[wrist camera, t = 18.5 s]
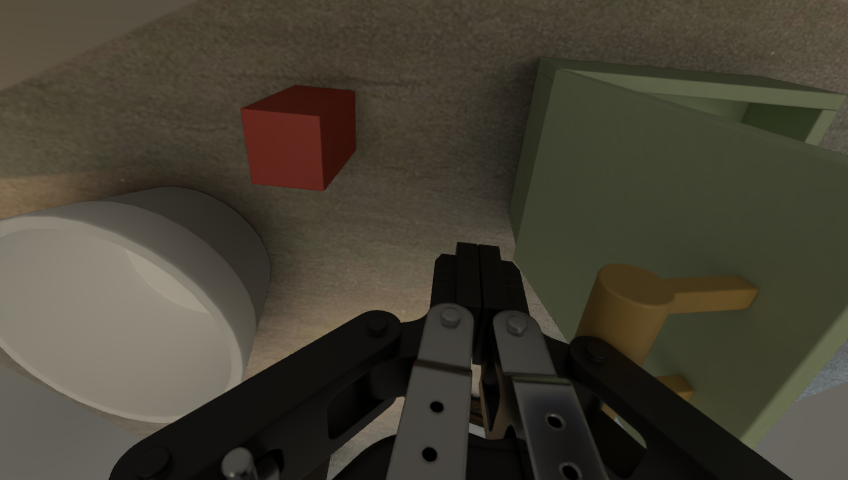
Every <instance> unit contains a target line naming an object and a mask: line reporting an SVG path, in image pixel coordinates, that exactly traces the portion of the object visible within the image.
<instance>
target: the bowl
mask: <svg viewBox="0 0 848 480" xmlns="http://www.w3.org/2000/svg"><path fill="white" fill-rule="evenodd" d="M270 277H271V269H270V261H269V258H268V254H267V251H266V249H265V247H264V245H263V243H262V241H261V239H260V237H259V236H258V235H257V233H256V232H255V230H254V229H253V228H252V226H251V225H250V224H249V223H248V222H247V221H246V220H245V219H244V218H243V217H242V216H241V215H240V214H239V213H237V212H236V211H234V210H233V209H232V208H230V207H229V206H228V205H226V204H225V203H223V202H221V201H219V200H217V199H216V198H214V197H212V196H210V195H207V194H204V193H202V192H199V191H196V190H193V189H187V188H182V187H158V188H153V189H148V190H143V191H138V192H133V193H129V194H124V195H119V196H114V197H109V198H104V199H99V200H94V201H86V202H81V203H76V204H71V205H66V206H61V207H56V208H51V209H46V210H41V211H36V212H31V213H26V214H21V215H17V216H12V217H8V218H3V219H0V347H1V348H2V349H3V350H4V351H5V352H6V353H7V354H8V355H9V356H10V357H11V358H13V359H14V360H15V361H16V362H17V363H18V364H20V365H21V366H22V367H24V368H25V369H26V370H27V371H29V372H30V373H31V374H33V375H34V376H35V377H37V378H38V379H40V380H41V381H43V382H45V383H46V384H48V385H49V386H51V387H53V388H54V389H56V390H57V391H59V392H61V393H63V394H65V395H67V396H69V397H71V398H73V399H75V400H77V401H79V402H81V403H84V404H86V405H89V406H91V407H94V408H96V409H99V410H101V411H104V412H108V413H111V414H114V415H118V416H121V417H125V418H129V419H135V420H141V421H146V422H159V423H173V422H174V421H176V420H178V419H180V418H181V417H183V416H185V415H187V414H188V413H190V412H192V411H194V410H195V409H197V408H199V407H201V406H202V405H204V404H206V403H208V402H209V401H211V400H213V399H214V398H216V397H218V396H220V395H221V394H223V393H225V392H227V391H228V390H230V389H232V388H234V387H235V386H237V385H239V384H241V383H242V382H243V380H244V376H245V372H246V369H247V365H248V361H249V358H250V354H251V351H252V347H253V343H254V338H255V334H256V331H257V327H258V323H259V320H260V316H261V313H262V309H263V305H264V302H265V298H266V295H267V291H268V287H269V282H270Z"/></svg>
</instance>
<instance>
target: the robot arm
mask: <svg viewBox="0 0 848 480" xmlns="http://www.w3.org/2000/svg"><path fill="white" fill-rule="evenodd" d="M523 289H524V287H523V283H522V278H521V274H520V270H519V269H518V268H517V267H516V265H515V264H514V263H513V262H512V261H503V260H501V256H500V249H499V246H490V245H482V244H479V245H477V244H472V243H463V242H457V246H456V253H455V255H449V254H441V255H440V256H439V257H438V258H437V259H436V261H435V267H434V276H433V284H432V293H431V302H430V309H429V311H428V312H427V314H426V315H425V316H423V317H422V318H420V319H418V320H415V321H410V322H403V323H401V322H400V320H399V319H398V318H397V317H396V316H395V315H393V314H392V313H389V312H386V311H381V310H373V311H368V312H365V313H363V314H361V315H359V316H357V317H355V318H354V319H352V320H350V321H348V322H347V323H345V324H343V325H341V326H340V327H338V328H336V329H335V330H333V331H331V332H329V333H328V334H326V335H324V336H322V337H321V338H319V339H317V340H315V341H314V342H312V343H310V344H308V345H307V346H305V347H303V348H301V349H300V350H298V351H296V352H295V353H293V354H291V355H289V356H288V357H286V358H284V359H282V360H281V361H279V362H277V363H275V364H274V365H272V366H270V367H268V368H267V369H265V370H263V371H261V372H260V373H258V374H256V375H255V376H253V377H251V378H249V379H248V380H246V381H244V382H242V383H241V384H239V385H237V386H235V387H234V388H232V389H230V390H228V391H227V392H225V393H223V394H221V395H220V396H218V397H216V398H214V399H213V400H211V401H209V402H208V403H206V404H204V405H202V406H201V407H199V408H197V409H195V410H194V411H192V412H190V413H188V414H187V415H185V416H183V417H181V418H180V419H178V420H176V421H174V422H173V423H171V424H169V425H168V426H166V427H164V428H162V429H161V430H159V431H157V432H155V433H154V434H152V435H150V436H148V437H147V438H145V439H143V440H141V441H140V442H138V443H137V444H135V445H134V446H133V447H132V448H130V449H129V450H128V451H127V452H126V453H125V454H124V455H123V456H122V457H121V458H120V459H119V460H118V462H117V463H116V465H115V466H114V468H113V470H112V472H111V474H110V477H109V480H301V479H303V478H304V477H305V476H306V475H307V474H309V473H310V472H311V471H312V470H313V469H315V468H316V467H317V466H318V465H320V464H321V463H322V462H323V461H324V460H326V459H327V458H328V457H329V456H330V455H332V454H333V453H334V452H335V451H337V450H338V449H339V448H340V447H341V446H343V445H344V444H345V443H346V442H347V441H349V440H350V439H351V438H352V437H354V436H355V435H356V434H357V433H358V432H360V431H361V430H362V429H363V428H364V427H366V426H367V425H368V424H369V423H371V422H372V421H373V420H374V419H375V418H377V417H378V416H379V415H380V414H381V413H383V412H384V411H385V410H386V409H388V408H389V407H390V406H391V405H392V404H393V403H394V401H395V400H396V397H401V396H406V397H405V401H404V405H403V409H402V413H401V418H400V422H399V426H398V430H397V434H396V435H392V436H389V437H386V438H384V439H381V440H379V441H377V442H376V443H374V444H372V445H370V446H369V447H368V448H366V449H365V450H363V451H362V452H361V453H360V454H359V455H358V456H357V457H356V458H354V459H353V460H352V461H351V462H350V463H349V464H348V465H347V466H346V467H345V468H344V469H343V470H342V471H341V472H339V473H338V474H337V475H336V476H335V477H334V478H333V479H332V480H793V479H791V478H790V477H789V476H787V475H786V474H785V473H783V472H782V471H781V470H779V469H777V468H776V467H775V466H774V465H772V464H771V463H770V462H768V461H767V460H766V459H764V458H763V457H762V456H760V455H759V454H758V453H756V452H755V451H753V450H752V449H751V448H749V447H748V446H747V445H745V444H744V443H743V442H741V441H740V440H739V439H737V438H736V437H735V436H733V435H732V434H731V433H729V432H728V431H726V430H725V429H724V428H722V427H721V426H720V425H718V424H717V423H716V422H714V421H713V420H712V419H710V418H709V417H708V416H706V415H705V414H703V413H702V412H701V411H699V410H698V409H697V408H695V407H694V406H693V405H691V404H690V403H689V402H687V401H686V400H685V399H683V398H682V397H681V396H679V395H678V394H676V393H675V392H674V391H672V390H671V389H670V388H668V387H667V386H666V385H664V384H663V383H662V382H660V381H659V380H658V379H656V378H655V377H653V376H652V375H651V374H649V373H648V372H647V371H645V370H644V369H643V368H641V367H640V366H639V365H637V364H636V363H635V362H633V361H632V360H631V359H629V358H628V357H626V356H625V355H624V354H622V353H621V352H620V351H618V350H617V349H616V348H614V347H613V346H612V345H610V344H609V343H607V342H605V341H604V340H601V339H599V338H596V337H592V336H578V337H575V338H574V339H572V341H571V342H570V344H567V343H564V342H561V341H559V340H556V339H553V338H551V337H549V336H547V335H545V334H543V333H542V331H541V328H540V326H539V324H538V323H537V321H536V320H535V319H533V318H532V317H531V316H530V314H529V309H528V305H527V300H526V296H525V291H524V290H523ZM471 358H472V364H476V365H481V376H480V381H479V393H480V401H481V408H482V416H483V423H484V431H485V438H486V439H485V438H482V437H480V436H477V435H474V434H472V433H469V418H470V403H471V388H472V370H471ZM604 403H605V404H606V405H607V406H608V407H609V408H611V409H612V410H613V411H614V412H615V413H616V414H618V415H619V416H620V417H621V418H622V419H623V420H624V421H626V422H627V423H628V424H629V425H630V426H631V427H632V428H634V429H635V430H636V431H637V432H638V433H639V434H640V435H641V436H642V438H643V439H644V441H645V444H646V448H644V447H643V446H642V445H641V444H640V443H639V442H638V441H636V440H635V439H634V438H633V437H632V436H631V435H630V434H629V433H627V432H626V431H625V430H624V429H623V428H622V427H621V426H620V425H618V424H617V423H616V422H615V421H614V420H613V419H612V418H610V417H609V416H608V415H607V414H606V413H605V412H604V411H603V410H601V409H602V407H603V405H604Z"/></svg>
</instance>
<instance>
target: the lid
mask: <svg viewBox="0 0 848 480" xmlns="http://www.w3.org/2000/svg"><path fill="white" fill-rule="evenodd" d="M513 259H514V261H515V262H516V264H517V265H518V267H519V268H520V270H521V271H522V273H523V274H524V276H525V278H526V279H527V281H528V282H529V284H530V285H531V287H532V288H533V290H534V291H535V293H536V294H537V296H538V297H539V299H540V300H541V302H542V304H543V305H544V307H545V308H546V310H547V311H548V313H549V314H550V316H551V317H552V319H553V320H554V322H555V323H556V325H557V327H558V328H559V330H560V331H561V333H562V334H563V336H564V337H565V339H566V340H567V342H568V343H569V344H570V342H571V341H572V339H574V338H575V337H578V336H592V337H596V338H599V339H601V340H604V341H605V342H607V343H609V344H610V345H612V346H613V347H614V348H616V349H617V350H618V351H620V352H621V353H622V354H624V355H625V356H626V357H628V358H629V359H631V360H632V361H633V362H635V363H636V364H637V365H639V366H640V367H641V368H643V369H644V370H645V371H647V372H648V373H649V374H651V375H652V376H653V377H655V378H656V379H658V380H659V381H660V382H662V383H663V384H664V385H666V386H667V387H668V388H670V389H671V390H672V391H674V392H675V393H676V394H678V395H679V396H681V397H682V398H683V399H685V400H686V401H687V402H689V403H690V404H691V405H693V406H694V407H695V408H697V409H698V410H699V411H701V412H702V413H703V414H705V415H706V416H708V417H709V418H710V419H712V420H713V421H714V422H716V423H717V424H718V425H720V426H721V427H722V428H724V429H725V430H726V431H728V432H729V433H731V434H732V435H733V436H735V437H736V438H737V439H739V440H740V441H741V442H743V443H744V444H745V445H747V446H748V447H749V448H751V449H752V450H753V449H754V448H755V447H756V445H757V444H758V443H759V442H760V441H761V440H762V439H763V437H764V436H765V435H766V434H767V433H768V431H769V430H770V429H771V428H772V427H773V426H774V424H775V423H776V422H777V421H778V420H779V419H780V417H781V416H782V415H783V414H784V412H786V410H787V409H788V408H789V407H790V406H791V405H792V403H793V402H794V401H795V400H796V399H797V398H798V396H799V395H800V394H801V393H802V392H803V391H804V389H805V388H806V387H807V386H808V385H809V384H810V382H811V381H812V380H813V379H814V378H815V377H816V375H817V374H818V373H819V372H820V371H821V369H822V368H823V367H824V366H825V365H826V364H827V362H828V361H829V360H830V359H831V358H832V357H833V355H834V354H835V353H836V352H837V351H838V350H839V348H840V347H841V346H842V345H843V344H844V343H845V341H846V340H847V339H848V155H844V154H841V153H838V152H834V151H831V150H828V149H825V148H821V147H818V146H815V145H811V144H808V143H805V142H802V141H798V140H795V139H792V138H789V137H785V136H782V135H779V134H775V133H772V132H769V131H766V130H762V129H759V128H756V127H752V126H749V125H746V124H743V123H739V122H736V121H733V120H730V119H726V118H723V117H720V116H716V115H713V114H710V113H707V112H703V111H700V110H697V109H693V108H690V107H687V106H684V105H680V104H677V103H674V102H671V101H667V100H664V99H661V98H657V97H654V96H651V95H648V94H644V93H641V92H638V91H634V90H631V89H628V88H625V87H621V86H618V85H615V84H612V83H608V82H605V81H602V80H598V79H595V78H592V77H589V76H585V75H582V74H579V73H575V72H572V71H569V70H556V72H555V76H554V81H553V85H552V90H551V94H550V98H549V103H548V107H547V112H546V116H545V120H544V125H543V129H542V134H541V138H540V142H539V147H538V151H537V156H536V160H535V164H534V169H533V173H532V178H531V182H530V186H529V191H528V195H527V200H526V204H525V208H524V213H523V217H522V222H521V226H520V231H519V235H518V239H517V244H516V248H515V253H514V257H513ZM601 410H603V411H604V412H605V413H606V414H607V415H608V416H609V417H610V418H612V419H613V420H614V419H615V417H617V418H618V420H619V421H620V423H621V425H622V426H623V428H624V429H625V431H626V432H627V433H629V434H630V435H631V436H632V437H633V438H634V439H635V440H636V441H638V442H639V443H640V444H641V445H642V446H643V447H644V448H646V444H645V441H644V439H643V438H642V436H641V435H640V434H639V433H638V432H637V431H636V430H635V429H634V428H632V427H631V426H630V425H629V424H628V423H627V422H626V421H624V420H623V419H622V418H621V417H620V416H619V415H618V414H616V413H615V412H614V411H613V410H612V409H611V408H609V407H608V406H607V405H606V404H605V403H604V405H603V407H602V409H601Z"/></svg>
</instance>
